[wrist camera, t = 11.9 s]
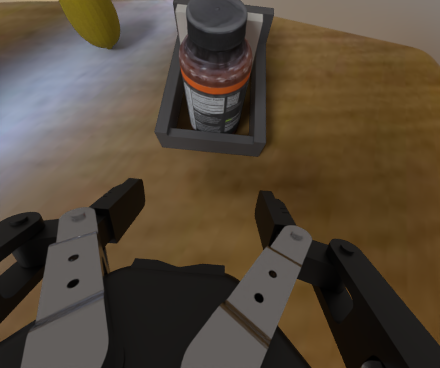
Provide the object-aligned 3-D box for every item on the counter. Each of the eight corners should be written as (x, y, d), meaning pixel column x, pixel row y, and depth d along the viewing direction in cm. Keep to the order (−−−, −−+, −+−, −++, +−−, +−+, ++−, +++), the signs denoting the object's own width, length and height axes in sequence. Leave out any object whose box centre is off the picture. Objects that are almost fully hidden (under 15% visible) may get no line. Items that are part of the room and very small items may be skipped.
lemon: (81, 50, 24) (22, -37, 17) (110, 30, 26) (69, -58, 18) (109, 68, 23) (61, -14, 16) (138, 46, 25) (106, -38, 17)
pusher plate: (189, 99, 22) (175, 11, 14) (199, 41, 25) (193, -59, 17) (242, 105, 22) (262, 22, 14) (245, 46, 26) (263, -50, 17)
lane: (162, 147, 20) (143, 110, 14) (182, 51, 25) (174, -4, 19) (258, 156, 20) (276, 124, 15) (259, 60, 25) (273, 8, 20)
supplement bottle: (205, 97, 23) (201, -30, 12) (245, 116, 22) (278, 0, 11) (181, 130, 21) (150, 16, 10) (224, 152, 20) (239, 54, 10)
